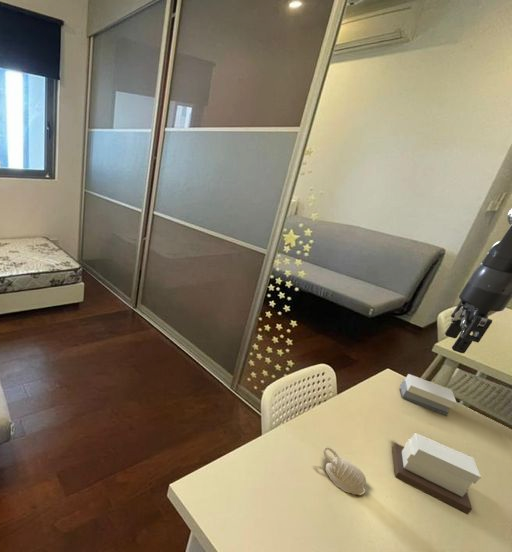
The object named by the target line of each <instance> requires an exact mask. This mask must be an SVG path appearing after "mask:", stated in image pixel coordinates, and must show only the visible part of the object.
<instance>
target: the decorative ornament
mask: <svg viewBox="0 0 512 552" xmlns="http://www.w3.org/2000/svg"><path fill="white" fill-rule="evenodd" d="M327 450H328V451H329V452H331V453H332V454H333V456H334V458H332V459H331V458H330V456H329V455H328V454H327ZM322 453H323V456H324V457H325V459H326V460H327V461H328V462H327V463H326V464H325V472H326V474H327V476H328V477H329V479H330V481H332V483H333V484H334V485H335V486H336V487H338V488H339V489H341V490H342V491H343V492H344V493H349V494H352V495H358V496H362V495H364V494H365V493H366V488H365V485H366V482H367V479H366V475H365V474H364V472H363V471H362V470H361V469H360V468H359V467H357V465H355V464H354V463H352V462H350V461H349V460H347V459H345V458H343V457H339V455H338V453H337V452H336V451H335V450H334V449H333V448H331V447H329V446H324V447H323V449H322Z"/></svg>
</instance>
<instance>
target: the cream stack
mask: <svg viewBox="0 0 512 552" xmlns="http://www.w3.org/2000/svg"><path fill="white" fill-rule="evenodd" d="M391 448H392V449H391V451H392V459H393V460H392V461H393V468H394V469H393V470H394V477H395V478H396V479H399V480H400V481H402V482H405V483H406V484H408V485H410V486H412V487H414V488H416V489H418V490H420V491H422V492H424V493H426V494H428V495H429V496H432V497H434V498H436V499H437V500H439V501H442V502H443V503H446V504H447V505H449V506H451V507H454V508H455V509H457V510H459V511H461V512H463V513H465V514H469V513H471V511H472V510H473V508H472V504H471V500H470V498H469V495H468V491H469V488H470V487H471V486H472V484H474V485H476V484H477V482H479V480H480V479H481V478H482V475H481V474H480V471H479V469H478V466H477V464H476V460H475V459H474V457H472V456H470V455H468V454H466V453H464V452H460V451H458V450H456V449H454V448H452V447H450V446H447V445H444V444H442V443H439V442H438V441H435V440H433V439H432V438H431V439H430V438H428V437H427V436H424V435H422V434H419V433H416V432H414V433H413V435H412V437H411V438H410V437H409V438H408V440H407V441H406V442H405V444H404V446H403V445H400V444H398V443H396V442H394V443H393V445H392V446H391Z"/></svg>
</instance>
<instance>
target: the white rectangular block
mask: <svg viewBox="0 0 512 552" xmlns="http://www.w3.org/2000/svg"><path fill="white" fill-rule="evenodd" d="M404 380H405V381H406V386H407V391H409V392H411V393H414V394H417V395H419V396H422V397H424V398H427V399H429V400H432V401H434V402H437V403H439V404H442V405H445V406H447V407H450V409H454V408H455V407H456V405H457V400H456V397H455V394H454V391H453V390H452V389H451V388H449V387H446V386H443V385H440V384H437V383H435V382H432V381H429V380H427V379H424V378H421V377H419V376H416V375H413V374H410V373H408V374H407V375H406V377H405V378H404Z"/></svg>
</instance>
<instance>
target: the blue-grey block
mask: <svg viewBox="0 0 512 552" xmlns="http://www.w3.org/2000/svg"><path fill="white" fill-rule="evenodd" d="M399 387H400V395H401V399H404V400H406V401H408V402H410V403H413V404H415V405H418V406H421V407H423V408H425V409H428V410H431V411H433V412H435V413H438V414H440V415H443V416H446V417H447V415H448V414H449V412H448V411H449V410H450V409H451V408H450V407H447V406H445V405H442V404H439V403H437V402H434V401H432V400H429V399H427V398H424V397H422V396H419V395H417V394H414V393H411V392H409V391H407V386H406V381H405V379H402V381H401V383H400V385H399Z"/></svg>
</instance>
